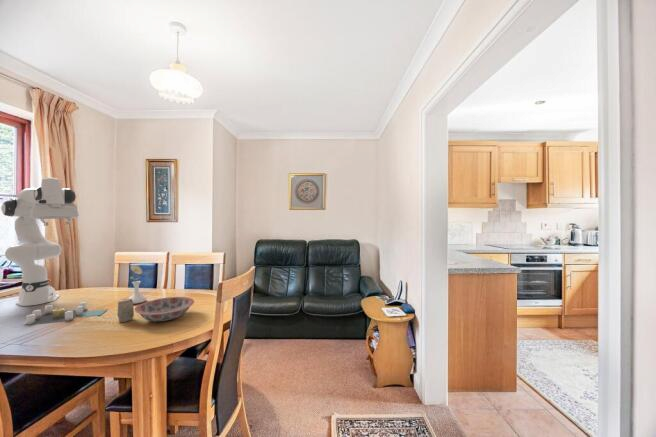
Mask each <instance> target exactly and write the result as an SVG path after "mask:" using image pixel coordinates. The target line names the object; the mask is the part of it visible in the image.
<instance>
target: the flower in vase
mask: <svg viewBox="0 0 656 437" xmlns="http://www.w3.org/2000/svg"><path fill="white" fill-rule="evenodd" d="M130 270H131V271H132V272H133V276H132V275H131V276H130V277H129V279H131V280H134V281H132V282H131V284H132V285H133V288H134V289H133V290H134V291H133V294H131V296H129V297H128V298H130V299H132V301H133V305H135V304H136V305H137V304H142V303H145V302H147V297H146V296H145V295H143V294H141V293H140V291H139V286H140V284H141V282H142V281H141V280H138V279H140V277H141V276H139V277H137V278H135V274H137V275H141V274H143V269H142V268H141V267H140V266H139V265H137V264H136V265H135V264H132V265H131V266H130ZM136 280H137V281H136Z"/></svg>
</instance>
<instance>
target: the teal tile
mask: <svg viewBox="0 0 656 437" xmlns="http://www.w3.org/2000/svg"><path fill="white" fill-rule="evenodd" d="M107 311H108V309H95V310H86V311H85V312H83V314H82V315H79V316H78V318H84V317H85V318H86V317H96V316H97V317H101V316H102V315H103V314H105V313H106V312H107Z"/></svg>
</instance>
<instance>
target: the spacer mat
mask: <svg viewBox="0 0 656 437" xmlns="http://www.w3.org/2000/svg"><path fill="white" fill-rule="evenodd" d="M53 307H54V306H53V304H47V305H44V313H43V314H41V313H42V312H41V311H42V309H35V310H32V311H31V312H32V314H27V315H26V320H25V321H26V322H25V323H26V324H24V325H23V326H25V327H26V326H34V325H45V324H55V323H64V322H72V321H73V320H75V319H76V318H79V316H81V315H82V314H83V313H85V312H86V311H89V308H87V302H86V301H83V302H79V304H78V306H75V309H73V310H71V309H70V310H64V316H63V317H60V318H53V312H52V310H54V308H53Z"/></svg>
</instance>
